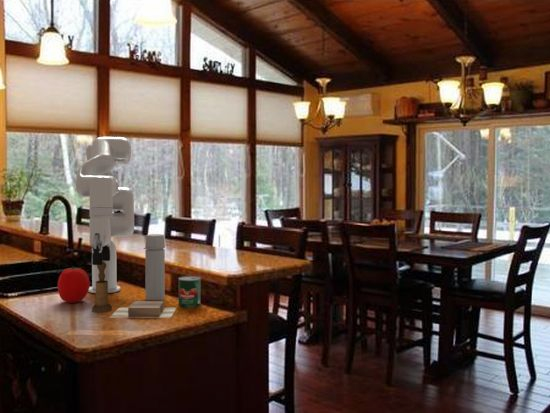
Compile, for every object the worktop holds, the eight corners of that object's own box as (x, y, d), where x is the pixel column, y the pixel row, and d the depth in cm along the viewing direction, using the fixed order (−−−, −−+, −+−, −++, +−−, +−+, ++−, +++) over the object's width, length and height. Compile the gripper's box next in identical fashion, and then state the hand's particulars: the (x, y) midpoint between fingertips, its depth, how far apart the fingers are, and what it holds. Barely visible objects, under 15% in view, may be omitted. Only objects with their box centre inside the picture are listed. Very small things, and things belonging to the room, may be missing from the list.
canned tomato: (180, 311, 197) (181, 280, 196) (176, 306, 204) (176, 276, 204) (203, 309, 200) (203, 279, 199) (197, 305, 207) (197, 275, 207)
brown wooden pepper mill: (101, 316, 189) (101, 263, 188) (87, 314, 192) (87, 262, 191) (115, 312, 195) (115, 261, 193) (102, 310, 198) (102, 259, 197)
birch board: (119, 310, 197) (119, 307, 197) (176, 310, 198) (176, 307, 198) (109, 321, 183) (109, 317, 183) (170, 321, 184) (170, 317, 184)
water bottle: (169, 300, 214) (169, 235, 212) (152, 304, 208) (152, 236, 206) (154, 296, 220) (154, 233, 218) (137, 300, 214) (137, 234, 212)
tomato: (49, 303, 207) (48, 267, 206) (74, 297, 218) (74, 263, 217) (72, 307, 202) (72, 270, 201) (97, 300, 213) (97, 265, 212)
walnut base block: (134, 309, 195) (134, 300, 194) (163, 309, 195) (163, 301, 195) (128, 316, 185) (128, 307, 184) (158, 317, 185) (158, 307, 185)
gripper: (97, 211, 200) (97, 259, 200) (82, 213, 182) (82, 266, 183) (118, 211, 200) (118, 259, 201) (105, 214, 182) (105, 266, 183)
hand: (101, 262), depth 192 cm, fingers open, 9 cm apart
